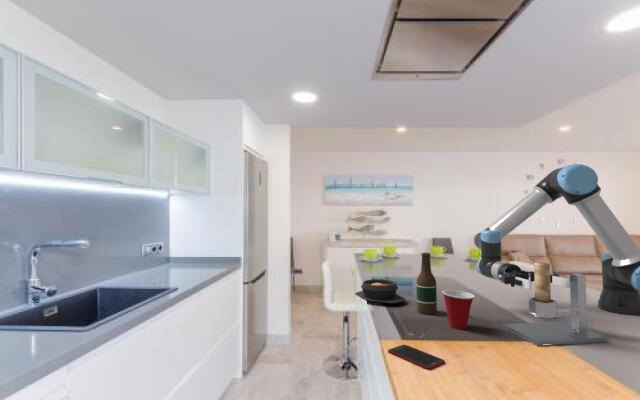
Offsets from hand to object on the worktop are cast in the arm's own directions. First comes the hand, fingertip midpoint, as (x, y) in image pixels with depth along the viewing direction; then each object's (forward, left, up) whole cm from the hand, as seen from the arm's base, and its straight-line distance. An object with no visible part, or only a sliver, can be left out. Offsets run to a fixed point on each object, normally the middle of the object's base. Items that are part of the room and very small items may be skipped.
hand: (549, 284), depth 111 cm
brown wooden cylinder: (0, -3, -10) cm, 10 cm away
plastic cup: (+23, -15, -17) cm, 33 cm away
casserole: (+41, -54, -18) cm, 70 cm away
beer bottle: (+27, -33, -17) cm, 46 cm away
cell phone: (+48, +8, -18) cm, 52 cm away
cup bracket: (-3, -3, -17) cm, 18 cm away
